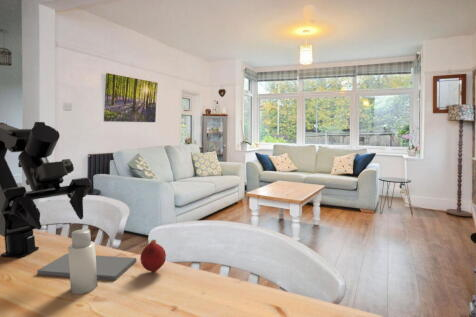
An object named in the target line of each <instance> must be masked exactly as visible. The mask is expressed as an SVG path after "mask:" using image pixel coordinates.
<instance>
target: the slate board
mask: <svg viewBox="0 0 476 317" xmlns="http://www.w3.org/2000/svg"><path fill="white" fill-rule="evenodd" d="M135 263H137V257H126V256H111V255H109V256H108V255H96V269H97V280H105V281H107V280H108V281H116V280H118V279H119V278H120V277H121V276H122V275H123V274H124V273H125V272H127V271H128V270H129V269H130V268H131V267H132V266H133V265H134V264H135ZM36 272H37V273H36V274H37V276H38V275H40V276H41V275H42V276H50V277H51V276H53V277H54V276H55V277H67V278H70V270H69V255H68V253H65V254H63V255H62V256H60V257H58V258H56V259H54V260H53V261H51V262H49V263H48V264H45V265H44V266H42V267H41V268H38V269H37V271H36Z"/></svg>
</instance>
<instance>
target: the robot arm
mask: <svg viewBox="0 0 476 317" xmlns="http://www.w3.org/2000/svg"><path fill="white" fill-rule="evenodd" d="M60 136H61V135H60V132H59V131H58V130H56V128H54V127H52V126H50V125H47V124H46V123H45V121H35V122H34V124H33V127H32V128H25V129H24V128H17V127H14V126H11V125H9V124H7V123H5V122H0V236H1V237H4V247H5V251H4V252H3V253H0V256H1V257H6V258H8V257H10V258H23V257H25V256H27V255H29V254H31V253H33V252H35V251H37V250H39V249H40V247H39V246H36V238H35V235H34V230H36V229H37V231H40V230H41V229H42V224H41V220H40V219H41V211H40V209H39V208H38V207H37V205H36V203H35V201H34V200H39V199H46V198H52V197H57V196H64V195H67V197H68V199H70V200H69V202H68V203H69V204H70V206H71V207H72V208H73V211H74V212H75V214H76V216H77V217H78V219H79V220H83V219H84V197H86V196H87V194H88V193H89V191H90V189H91V187H92V186H93V184H92V181H91V179H90V178H89V177H79V178H72V179H71V181H70V183H69V185H65V186H64V185H63V186H61V184H63V182H64V177H65V176H68V174H71V173H72V172H74V169H75V167H74V164H73V162H72V160H71V159H70V158H65V159H62V160H60V161H52V162H51V161H49V160H48V158H49V157H50V156H52V154H53V151H55V148H56V146H57V143H58V141H59V139H60ZM8 151H9V152H10V153H19V155H18V157H17V160H18V164H17V165H18V168H21V169H22V171H23V173H24V176H25V178H26V179H25V185H27V186H29V187H30V190H28V191H27V189H26V186H19V185H18V183H17V182H16V181H17V180H16V179H15V176H14V174H13V173H12V171H11V167H10V166H9V163H8V162H7V160H6V156H7V152H8Z"/></svg>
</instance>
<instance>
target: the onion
mask: <svg viewBox="0 0 476 317" xmlns="http://www.w3.org/2000/svg"><path fill="white" fill-rule="evenodd" d="M166 259H167V253H166V250H165V249H164V247H163V246H162V245H160V244H159V243H157V240H156V239H154V238H153V239H151V240H150V242H149V244H147V245H145V247H143V249H142V252H141V254H140V260H139V261H140V263H141V265H142V267H143V269H145V270H146V271H148V272H151V273H156V272H158V270H160V269H161V268H162V267H163V265H165V262H166Z"/></svg>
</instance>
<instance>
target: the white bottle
mask: <svg viewBox="0 0 476 317" xmlns="http://www.w3.org/2000/svg"><path fill="white" fill-rule="evenodd" d="M70 234H71V244H70V245H68V246H67V254H68V255H69V270H70V277H69V281H70V282H69V284H70V292H71V294H75V295H82V294H87V293H89V292H92V291H94V290H96V289H97V287H98V279H97V269H96V256H97V254H96V252H97V251H96V243H95V242H94V241H92V239H91V229H88V228H83V229H78V230H74V231H72V232H71V233H70Z"/></svg>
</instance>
